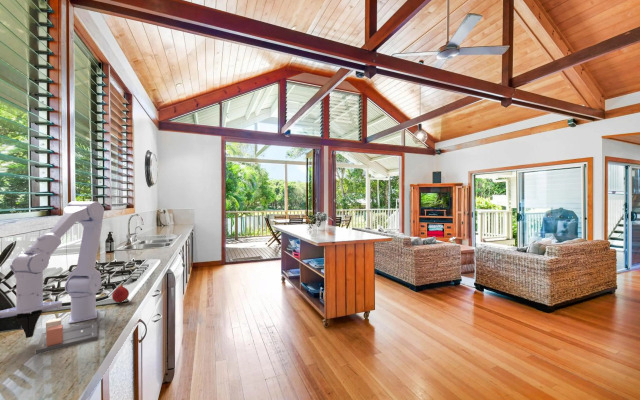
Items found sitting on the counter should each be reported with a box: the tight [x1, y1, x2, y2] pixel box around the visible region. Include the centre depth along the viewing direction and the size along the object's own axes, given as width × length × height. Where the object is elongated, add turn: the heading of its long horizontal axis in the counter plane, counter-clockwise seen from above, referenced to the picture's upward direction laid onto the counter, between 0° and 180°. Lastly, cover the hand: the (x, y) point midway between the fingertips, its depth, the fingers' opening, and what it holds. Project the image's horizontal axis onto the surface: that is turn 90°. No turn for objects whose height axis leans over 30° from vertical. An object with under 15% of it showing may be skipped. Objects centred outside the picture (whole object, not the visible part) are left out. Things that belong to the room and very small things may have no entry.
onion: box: [111, 284, 130, 303], centre depth 121 cm, size 6×6×8 cm
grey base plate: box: [35, 321, 98, 355], centre depth 91 cm, size 13×14×1 cm
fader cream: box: [45, 317, 62, 338], centre depth 91 cm, size 3×3×5 cm
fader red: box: [47, 324, 64, 346], centre depth 86 cm, size 3×3×5 cm
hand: (29, 336), depth 87 cm, fingers closed
